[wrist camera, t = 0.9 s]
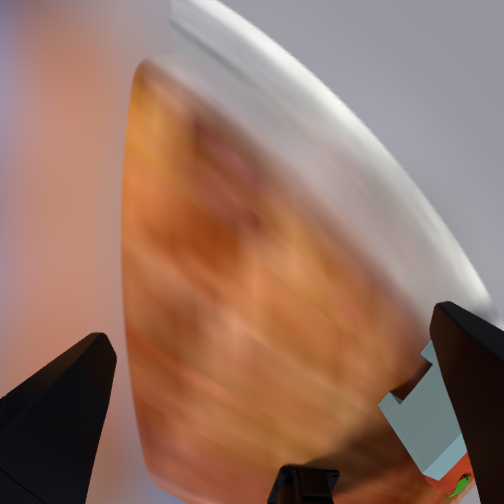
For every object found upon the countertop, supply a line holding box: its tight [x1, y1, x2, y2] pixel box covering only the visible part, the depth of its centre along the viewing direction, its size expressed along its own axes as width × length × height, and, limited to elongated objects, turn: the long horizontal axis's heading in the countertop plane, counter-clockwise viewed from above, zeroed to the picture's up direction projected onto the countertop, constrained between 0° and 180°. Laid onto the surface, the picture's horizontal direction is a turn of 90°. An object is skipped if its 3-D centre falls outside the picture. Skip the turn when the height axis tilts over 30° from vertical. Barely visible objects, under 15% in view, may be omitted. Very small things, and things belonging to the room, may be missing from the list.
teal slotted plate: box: [378, 340, 467, 481], centre depth 21 cm, size 8×2×11 cm, turn 143°
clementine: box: [424, 452, 474, 497], centre depth 24 cm, size 8×7×7 cm
